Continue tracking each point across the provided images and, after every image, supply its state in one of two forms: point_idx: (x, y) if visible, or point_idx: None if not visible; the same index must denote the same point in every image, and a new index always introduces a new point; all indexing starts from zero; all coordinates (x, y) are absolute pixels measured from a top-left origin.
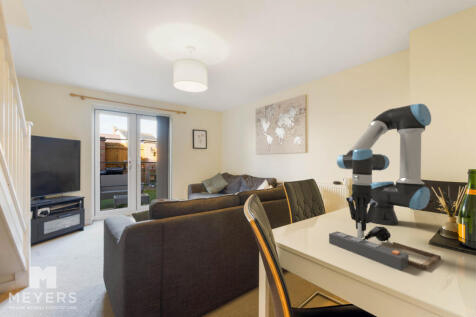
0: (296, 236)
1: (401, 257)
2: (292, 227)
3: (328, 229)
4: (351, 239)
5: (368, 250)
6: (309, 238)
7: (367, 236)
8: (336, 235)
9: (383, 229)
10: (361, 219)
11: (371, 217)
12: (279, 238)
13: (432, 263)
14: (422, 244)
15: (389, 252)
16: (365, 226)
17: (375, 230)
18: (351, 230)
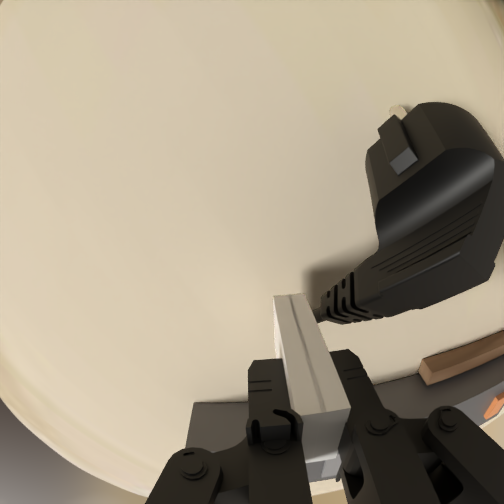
0: (107, 461)
1: (501, 408)
2: (10, 397)
3: (18, 284)
4: (333, 474)
5: None
6: (135, 454)
7: (354, 322)
8: None
9: (502, 233)
10: (353, 500)
11: (492, 475)
12: (121, 487)
13: None
14: (475, 3)
15: (479, 417)
16: (369, 397)
17: (438, 291)
18: (67, 122)
